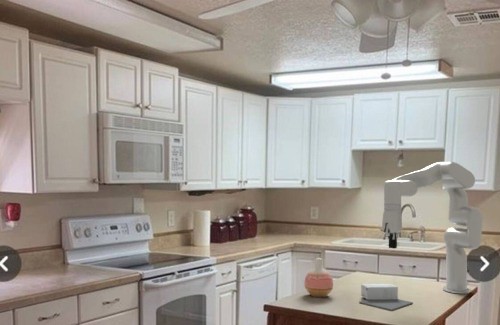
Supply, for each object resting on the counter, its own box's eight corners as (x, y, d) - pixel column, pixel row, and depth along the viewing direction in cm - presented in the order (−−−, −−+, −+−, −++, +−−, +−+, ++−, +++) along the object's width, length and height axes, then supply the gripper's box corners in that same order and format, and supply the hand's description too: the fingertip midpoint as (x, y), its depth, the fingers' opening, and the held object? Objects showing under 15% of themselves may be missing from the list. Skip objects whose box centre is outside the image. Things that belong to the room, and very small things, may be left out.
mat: (381, 296, 222) (381, 295, 222) (412, 303, 210) (412, 302, 210) (359, 303, 210) (359, 301, 210) (391, 310, 198) (391, 309, 198)
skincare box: (391, 295, 222) (360, 296, 221) (391, 282, 223) (360, 283, 221) (398, 299, 214) (366, 300, 213) (398, 286, 214) (366, 287, 213)
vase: (315, 291, 231) (315, 255, 232) (338, 296, 222) (339, 258, 222) (298, 295, 221) (298, 258, 222) (322, 301, 212) (322, 262, 212)
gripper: (393, 206, 222) (394, 245, 222) (376, 208, 212) (376, 248, 212) (408, 207, 217) (408, 247, 216) (391, 208, 207) (391, 250, 206)
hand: (392, 247), depth 214 cm, fingers closed
